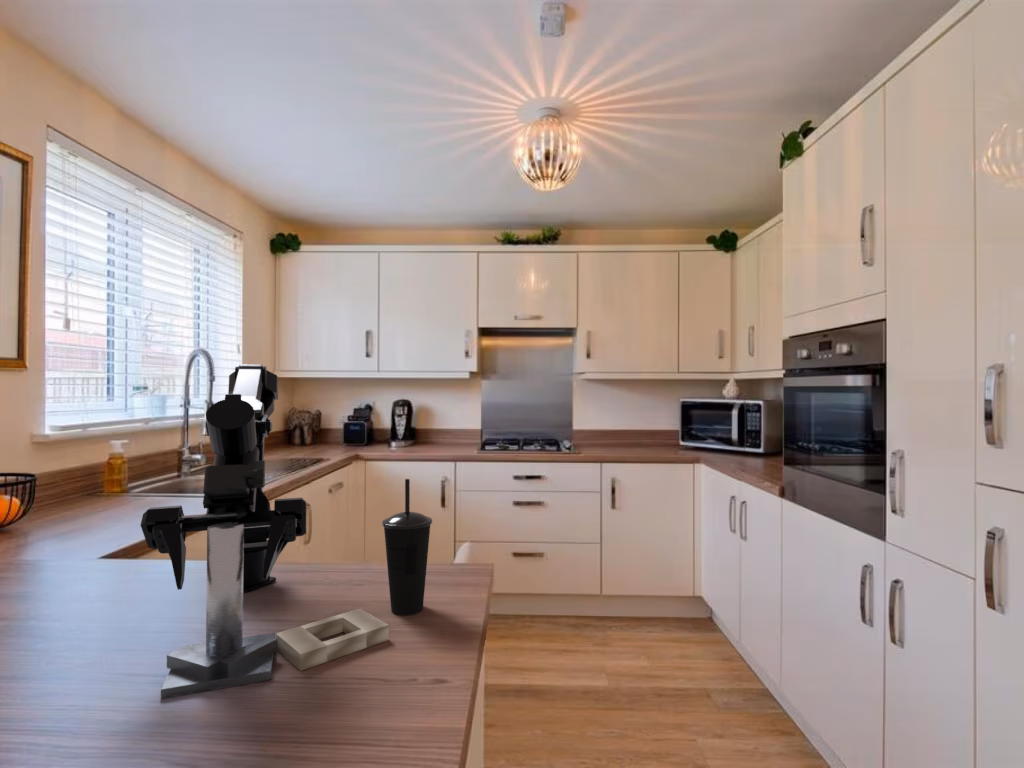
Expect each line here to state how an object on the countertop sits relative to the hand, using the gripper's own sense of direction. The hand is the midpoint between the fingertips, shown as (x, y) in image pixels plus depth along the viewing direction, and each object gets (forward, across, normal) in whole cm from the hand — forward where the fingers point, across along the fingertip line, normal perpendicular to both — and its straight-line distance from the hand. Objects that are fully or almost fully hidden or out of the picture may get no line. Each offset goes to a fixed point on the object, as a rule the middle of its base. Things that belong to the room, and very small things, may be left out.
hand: (223, 583), depth 66 cm
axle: (+6, 0, +8) cm, 10 cm away
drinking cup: (0, +24, +16) cm, 29 cm away
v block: (+6, 0, +8) cm, 11 cm away
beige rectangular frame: (+6, +13, +10) cm, 17 cm away
